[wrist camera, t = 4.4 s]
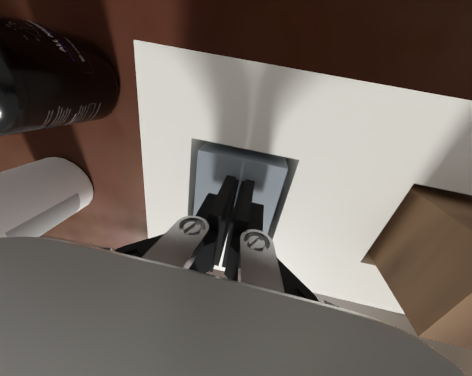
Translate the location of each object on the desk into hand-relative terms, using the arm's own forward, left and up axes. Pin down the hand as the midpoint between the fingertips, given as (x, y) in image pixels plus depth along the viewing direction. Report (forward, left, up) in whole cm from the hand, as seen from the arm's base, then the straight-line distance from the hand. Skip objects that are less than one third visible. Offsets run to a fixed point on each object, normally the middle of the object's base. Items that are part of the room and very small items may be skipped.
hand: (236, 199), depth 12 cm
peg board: (-6, 0, -9) cm, 10 cm away
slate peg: (0, 0, -7) cm, 7 cm away
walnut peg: (-12, 0, -2) cm, 12 cm away
